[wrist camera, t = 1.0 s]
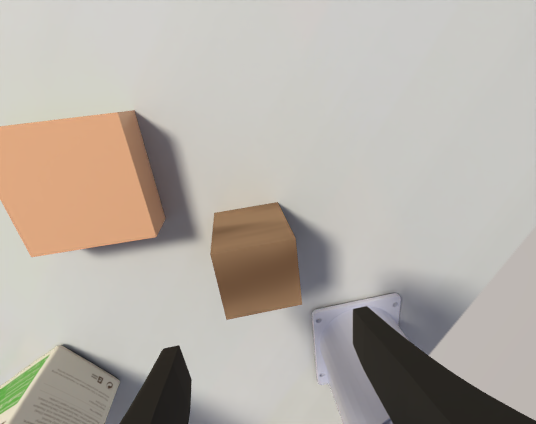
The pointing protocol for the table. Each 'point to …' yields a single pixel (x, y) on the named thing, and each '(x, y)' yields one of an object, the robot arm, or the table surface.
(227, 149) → the table surface
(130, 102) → the table surface
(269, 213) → the walnut block
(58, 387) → the skincare box
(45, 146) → the terracotta block
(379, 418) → the robot arm
